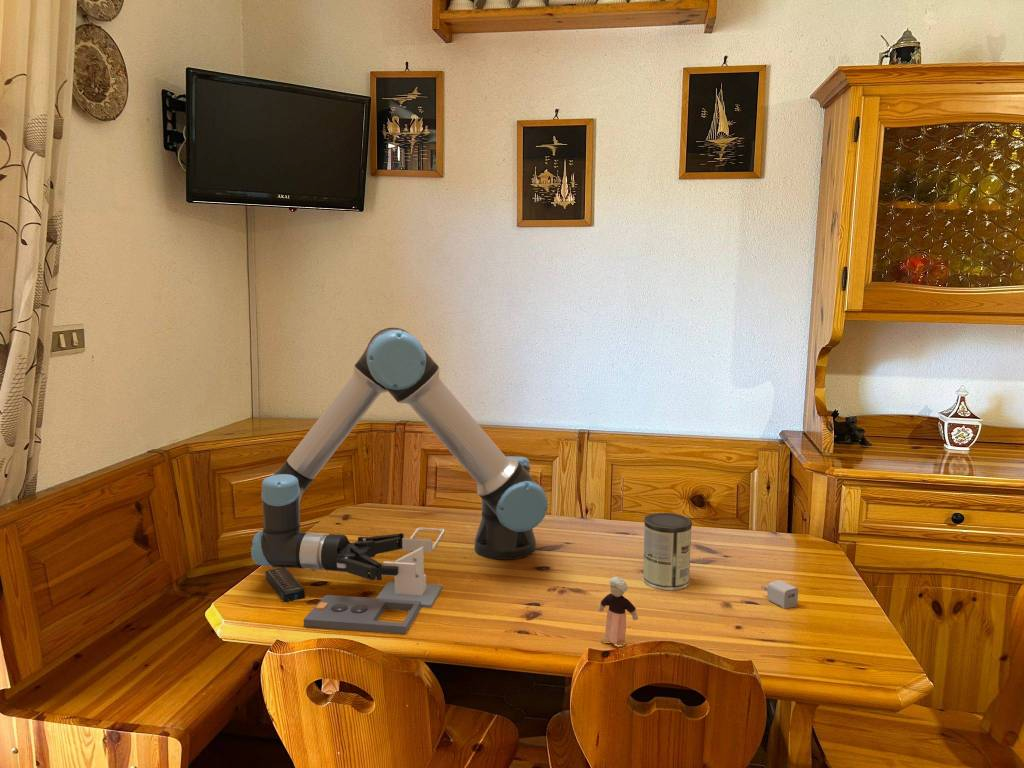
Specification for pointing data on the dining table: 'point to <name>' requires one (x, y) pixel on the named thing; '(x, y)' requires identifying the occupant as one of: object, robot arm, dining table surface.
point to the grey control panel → (360, 614)
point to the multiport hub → (285, 584)
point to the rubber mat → (426, 598)
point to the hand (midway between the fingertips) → (424, 557)
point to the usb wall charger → (782, 594)
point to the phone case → (432, 529)
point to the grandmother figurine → (617, 612)
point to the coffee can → (667, 551)
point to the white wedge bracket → (408, 583)
